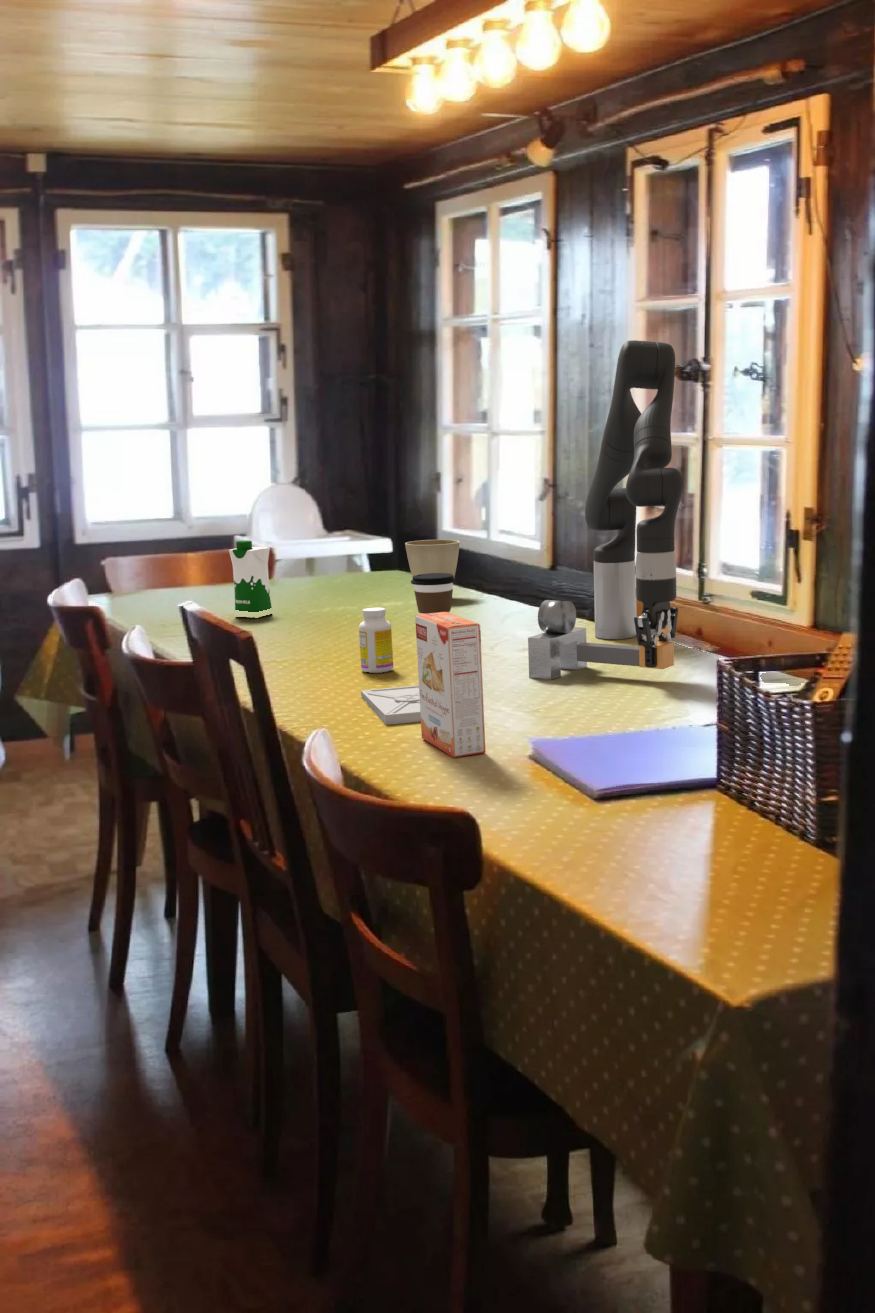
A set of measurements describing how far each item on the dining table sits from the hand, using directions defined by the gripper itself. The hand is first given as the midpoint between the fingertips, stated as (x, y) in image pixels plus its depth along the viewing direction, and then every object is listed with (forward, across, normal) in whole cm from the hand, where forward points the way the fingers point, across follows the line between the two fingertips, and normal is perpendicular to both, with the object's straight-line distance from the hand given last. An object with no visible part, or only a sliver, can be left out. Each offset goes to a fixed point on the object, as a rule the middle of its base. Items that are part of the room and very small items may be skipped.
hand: (657, 664), depth 264 cm
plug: (0, 0, +7) cm, 7 cm away
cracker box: (+4, -58, +7) cm, 58 cm away
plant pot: (+3, +71, +104) cm, 126 cm away
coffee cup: (+3, +38, +80) cm, 89 cm away
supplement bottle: (+3, -14, +57) cm, 59 cm away
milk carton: (+3, +30, +133) cm, 136 cm away
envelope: (+4, -38, +30) cm, 49 cm away
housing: (+3, 0, +22) cm, 22 cm away
